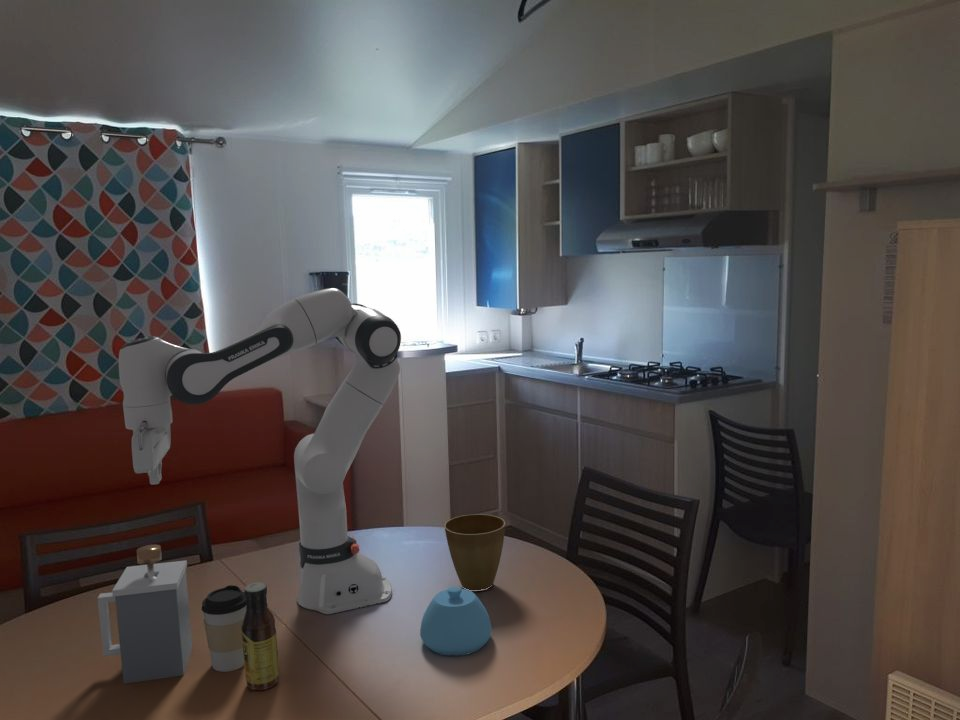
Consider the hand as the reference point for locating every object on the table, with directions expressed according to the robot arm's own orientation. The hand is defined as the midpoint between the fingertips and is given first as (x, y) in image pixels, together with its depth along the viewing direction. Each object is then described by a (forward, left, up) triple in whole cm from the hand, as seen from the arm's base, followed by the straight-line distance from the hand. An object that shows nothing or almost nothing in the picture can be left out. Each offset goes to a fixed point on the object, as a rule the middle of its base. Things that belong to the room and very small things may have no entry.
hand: (156, 482), depth 153 cm
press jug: (+3, +7, -36) cm, 37 cm away
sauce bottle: (-20, +20, -36) cm, 46 cm away
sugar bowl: (-59, +14, -36) cm, 71 cm away
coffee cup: (-13, +10, -36) cm, 40 cm away
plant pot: (-69, -11, -36) cm, 79 cm away
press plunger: (+1, +7, -33) cm, 34 cm away
